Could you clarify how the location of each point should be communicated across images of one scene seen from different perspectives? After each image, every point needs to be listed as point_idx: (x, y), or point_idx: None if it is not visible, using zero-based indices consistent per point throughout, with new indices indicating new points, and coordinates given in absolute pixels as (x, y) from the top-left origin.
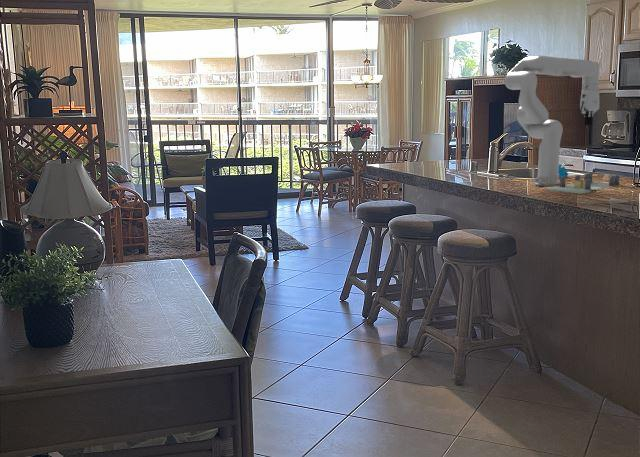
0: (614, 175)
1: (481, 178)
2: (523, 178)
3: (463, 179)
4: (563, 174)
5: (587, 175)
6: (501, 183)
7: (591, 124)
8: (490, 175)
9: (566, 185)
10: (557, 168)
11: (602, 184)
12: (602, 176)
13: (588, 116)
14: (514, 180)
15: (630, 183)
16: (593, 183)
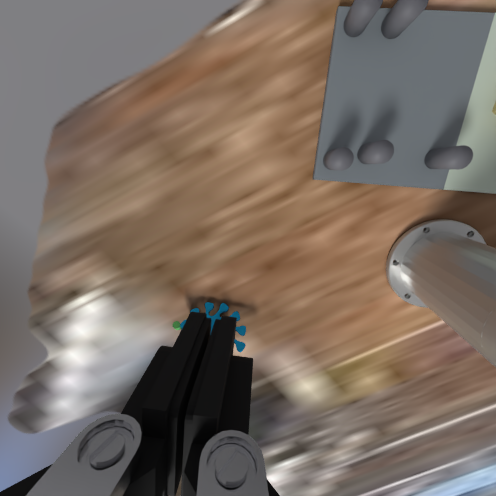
0: (379, 7)
1: (377, 465)
2: (305, 389)
3: (428, 486)
4: (217, 315)
5: (389, 144)
6: (469, 382)
7: (204, 316)
8: (295, 475)
9: (486, 175)
10: (486, 248)
11: (376, 79)
12: (85, 236)
13: (258, 463)
14: (370, 386)
15: (203, 44)
16: (363, 126)
